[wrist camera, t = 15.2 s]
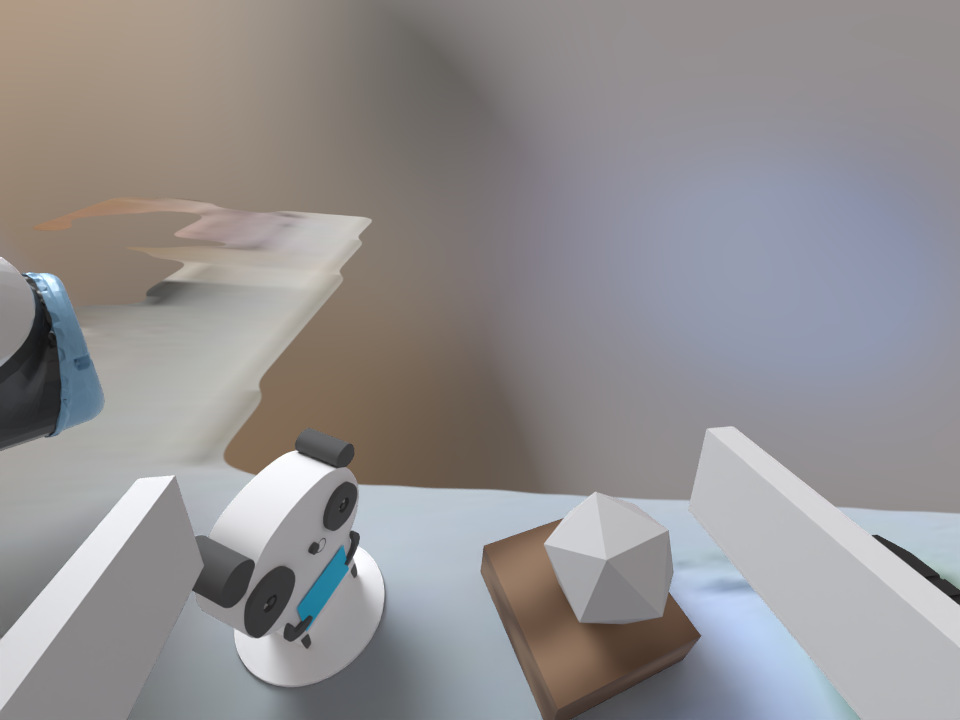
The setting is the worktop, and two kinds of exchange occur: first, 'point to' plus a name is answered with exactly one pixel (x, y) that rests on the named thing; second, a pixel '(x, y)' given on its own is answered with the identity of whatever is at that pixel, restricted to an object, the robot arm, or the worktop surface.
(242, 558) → the panda figurine
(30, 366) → the robot arm
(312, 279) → the worktop surface
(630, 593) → the die
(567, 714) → the plinth
